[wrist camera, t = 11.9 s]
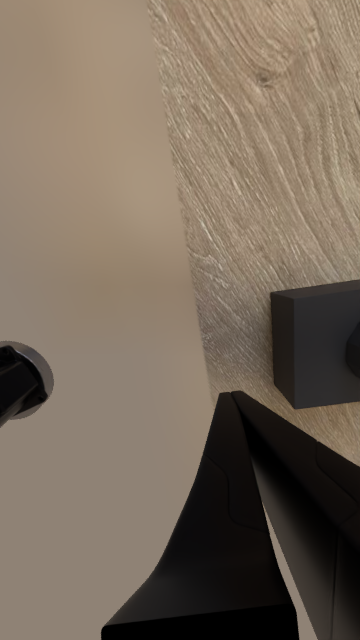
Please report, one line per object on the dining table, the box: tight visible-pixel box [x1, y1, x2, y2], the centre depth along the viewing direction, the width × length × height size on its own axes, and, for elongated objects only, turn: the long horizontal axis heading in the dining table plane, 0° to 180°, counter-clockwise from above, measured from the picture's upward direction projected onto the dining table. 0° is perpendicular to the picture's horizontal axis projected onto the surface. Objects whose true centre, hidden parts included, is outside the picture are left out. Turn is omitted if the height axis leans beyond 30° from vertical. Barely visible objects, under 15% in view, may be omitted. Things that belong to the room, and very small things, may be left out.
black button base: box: [271, 280, 360, 409], centre depth 18 cm, size 11×10×6 cm
